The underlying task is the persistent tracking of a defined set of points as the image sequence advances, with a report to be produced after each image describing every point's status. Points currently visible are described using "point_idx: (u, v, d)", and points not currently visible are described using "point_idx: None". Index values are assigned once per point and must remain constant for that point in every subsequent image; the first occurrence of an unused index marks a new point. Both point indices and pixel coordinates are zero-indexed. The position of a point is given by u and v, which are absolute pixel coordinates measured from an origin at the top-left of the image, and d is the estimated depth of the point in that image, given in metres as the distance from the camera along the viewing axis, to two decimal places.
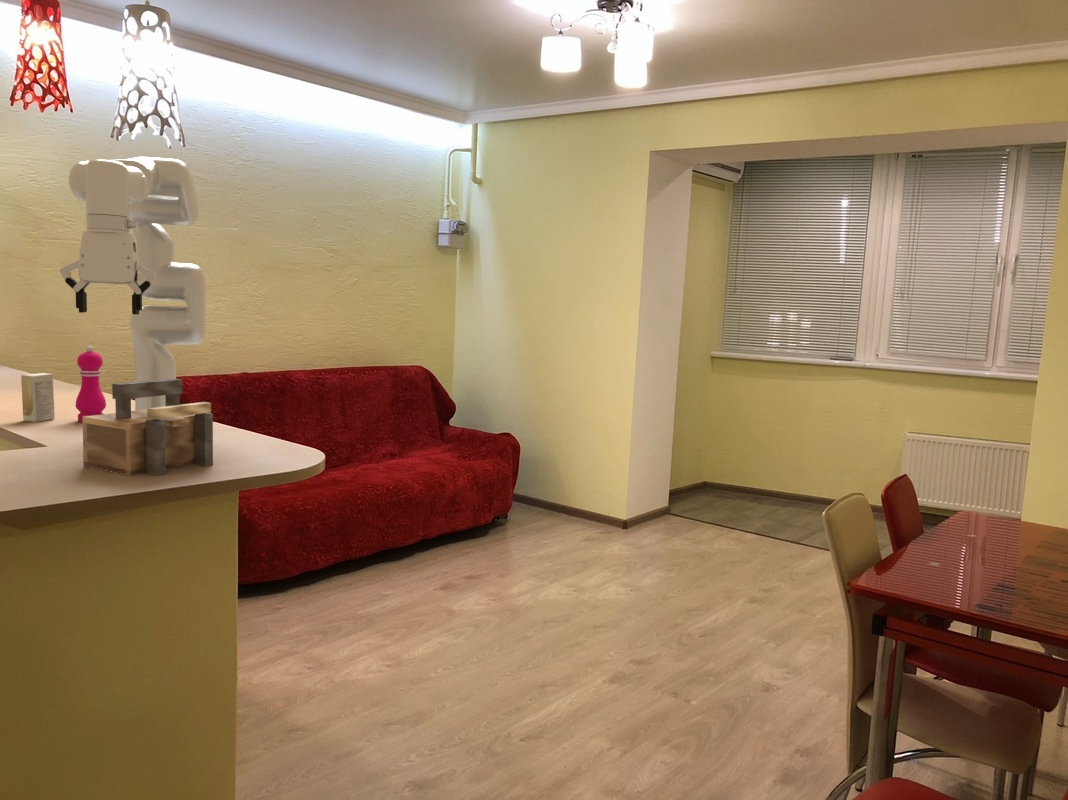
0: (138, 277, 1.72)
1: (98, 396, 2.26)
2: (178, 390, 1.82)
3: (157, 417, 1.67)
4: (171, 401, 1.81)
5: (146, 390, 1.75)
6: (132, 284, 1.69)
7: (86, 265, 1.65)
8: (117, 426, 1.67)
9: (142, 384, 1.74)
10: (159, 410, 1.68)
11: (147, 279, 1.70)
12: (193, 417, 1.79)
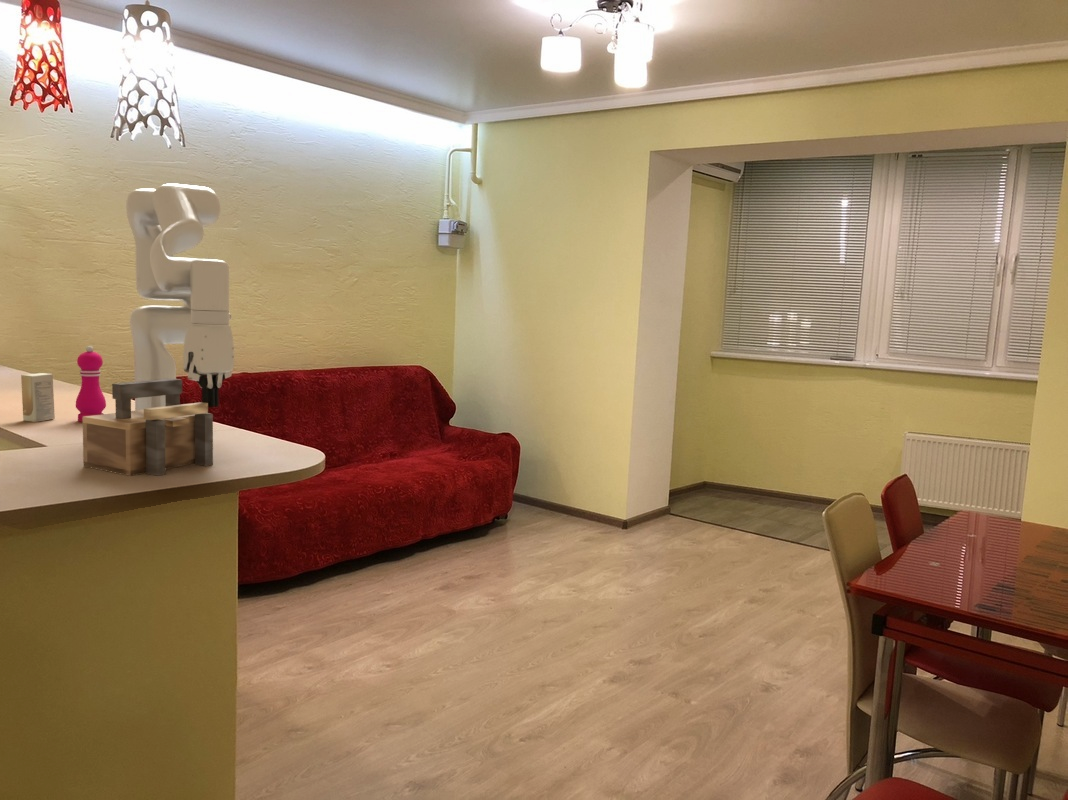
0: None
1: (98, 396, 2.26)
2: (178, 390, 1.82)
3: (153, 418, 1.67)
4: (171, 401, 1.81)
5: (146, 390, 1.75)
6: (220, 377, 1.80)
7: (204, 358, 1.75)
8: (117, 426, 1.67)
9: (142, 384, 1.74)
10: (155, 410, 1.67)
11: (224, 374, 1.82)
12: (193, 417, 1.79)
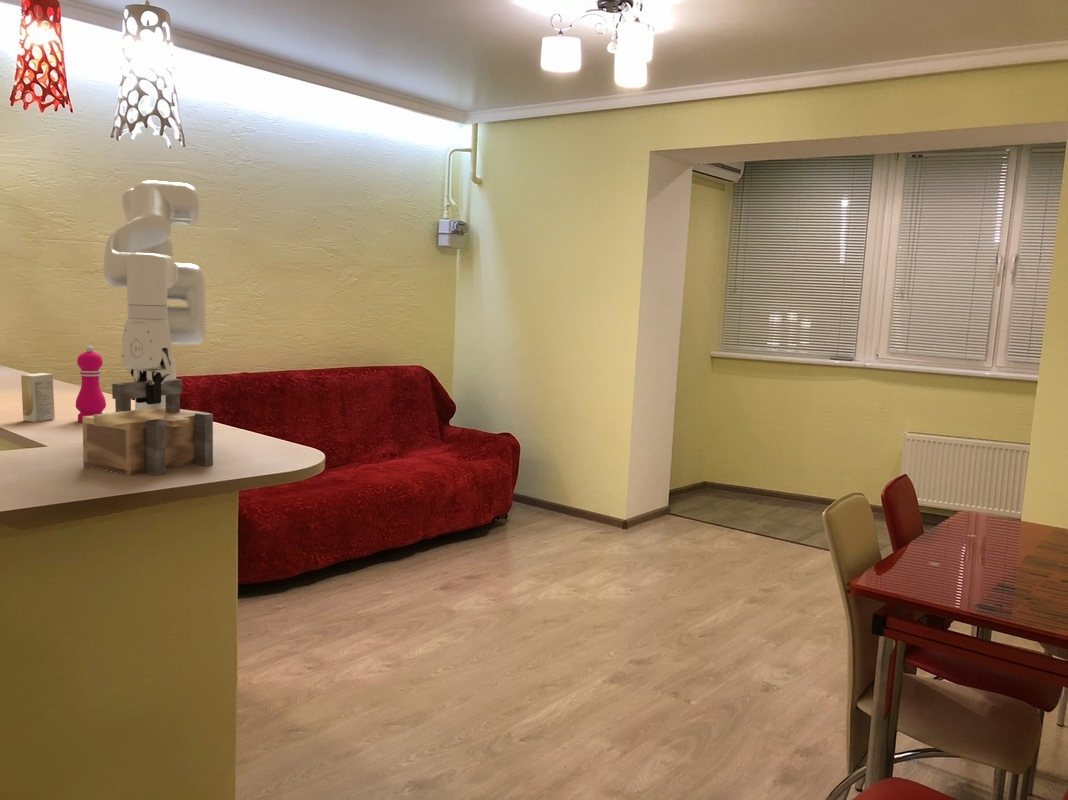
0: None
1: (98, 396, 2.26)
2: (178, 390, 1.82)
3: (104, 424, 1.57)
4: (171, 401, 1.81)
5: None
6: None
7: None
8: (117, 426, 1.67)
9: (142, 384, 1.74)
10: (106, 416, 1.57)
11: None
12: (193, 417, 1.79)
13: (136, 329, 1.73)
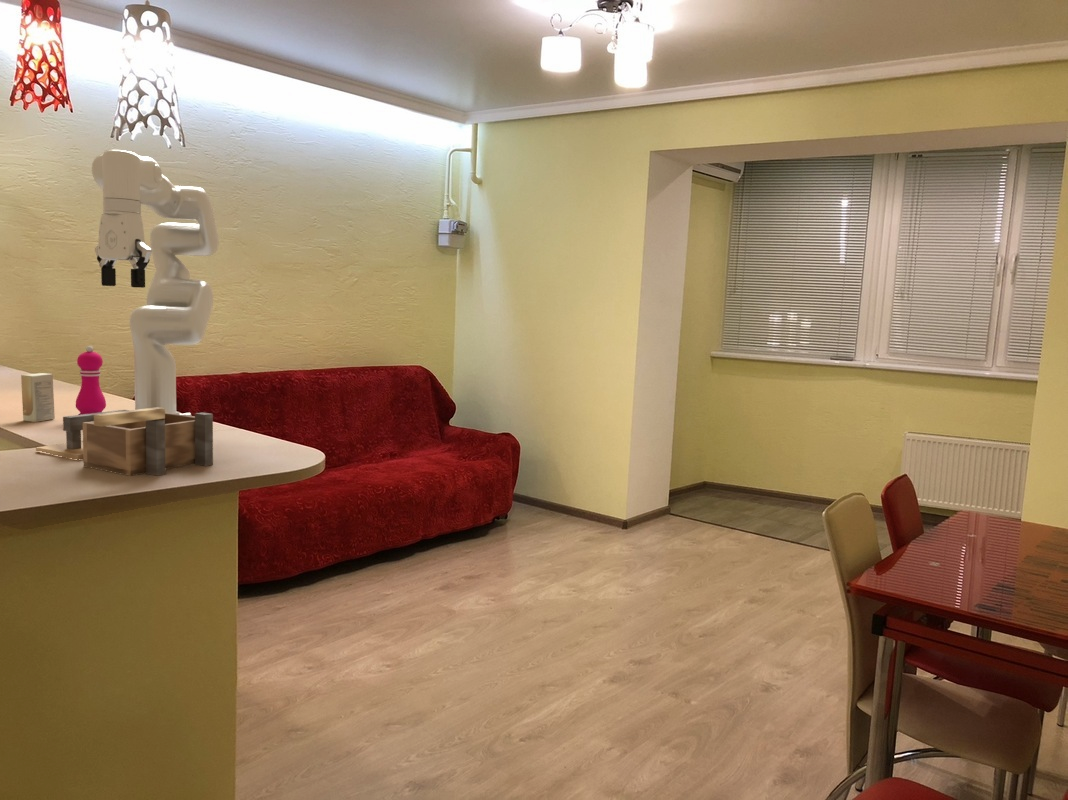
0: None
1: (98, 396, 2.26)
2: None
3: (104, 424, 1.57)
4: None
5: None
6: None
7: None
8: (67, 456, 1.80)
9: (92, 416, 1.87)
10: (106, 416, 1.57)
11: None
12: None
13: (111, 221, 1.87)
